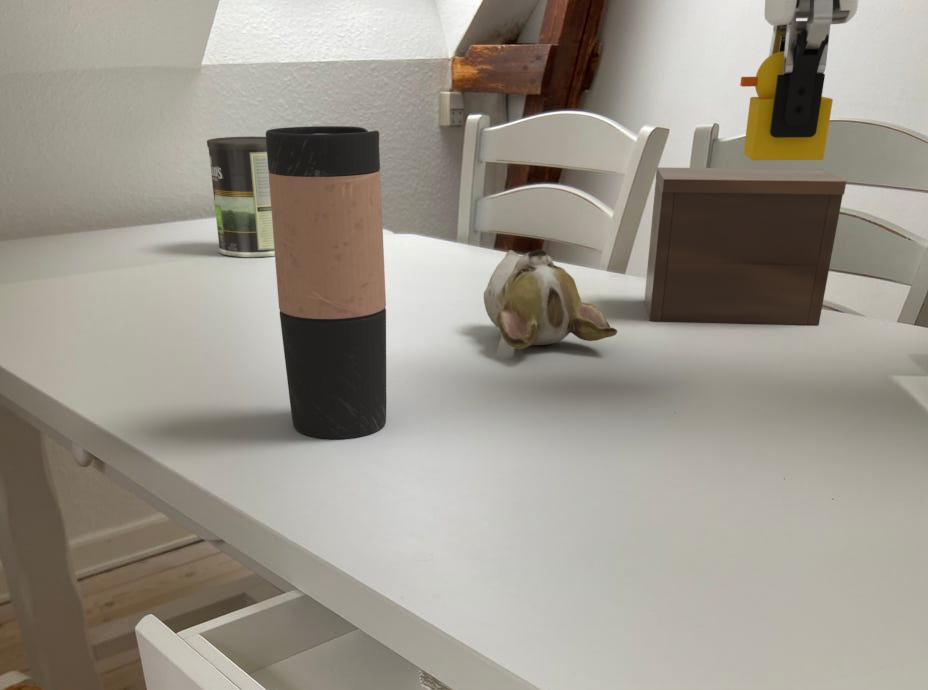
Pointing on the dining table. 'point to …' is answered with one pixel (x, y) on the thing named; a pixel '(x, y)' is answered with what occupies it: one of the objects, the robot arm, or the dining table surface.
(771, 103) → the duck
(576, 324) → the ceramic sculpture
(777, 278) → the wooden nightstand cabinet
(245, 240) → the coffee can
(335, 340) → the travel mug
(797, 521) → the dining table surface
